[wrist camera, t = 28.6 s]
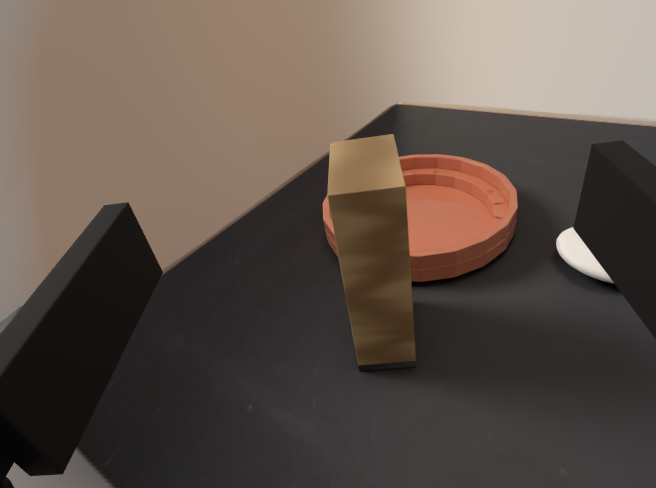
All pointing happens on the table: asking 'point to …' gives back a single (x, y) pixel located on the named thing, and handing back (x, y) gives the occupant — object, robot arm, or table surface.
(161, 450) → the table surface
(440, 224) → the bowl
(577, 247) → the figurine
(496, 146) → the table surface
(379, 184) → the wooden block
